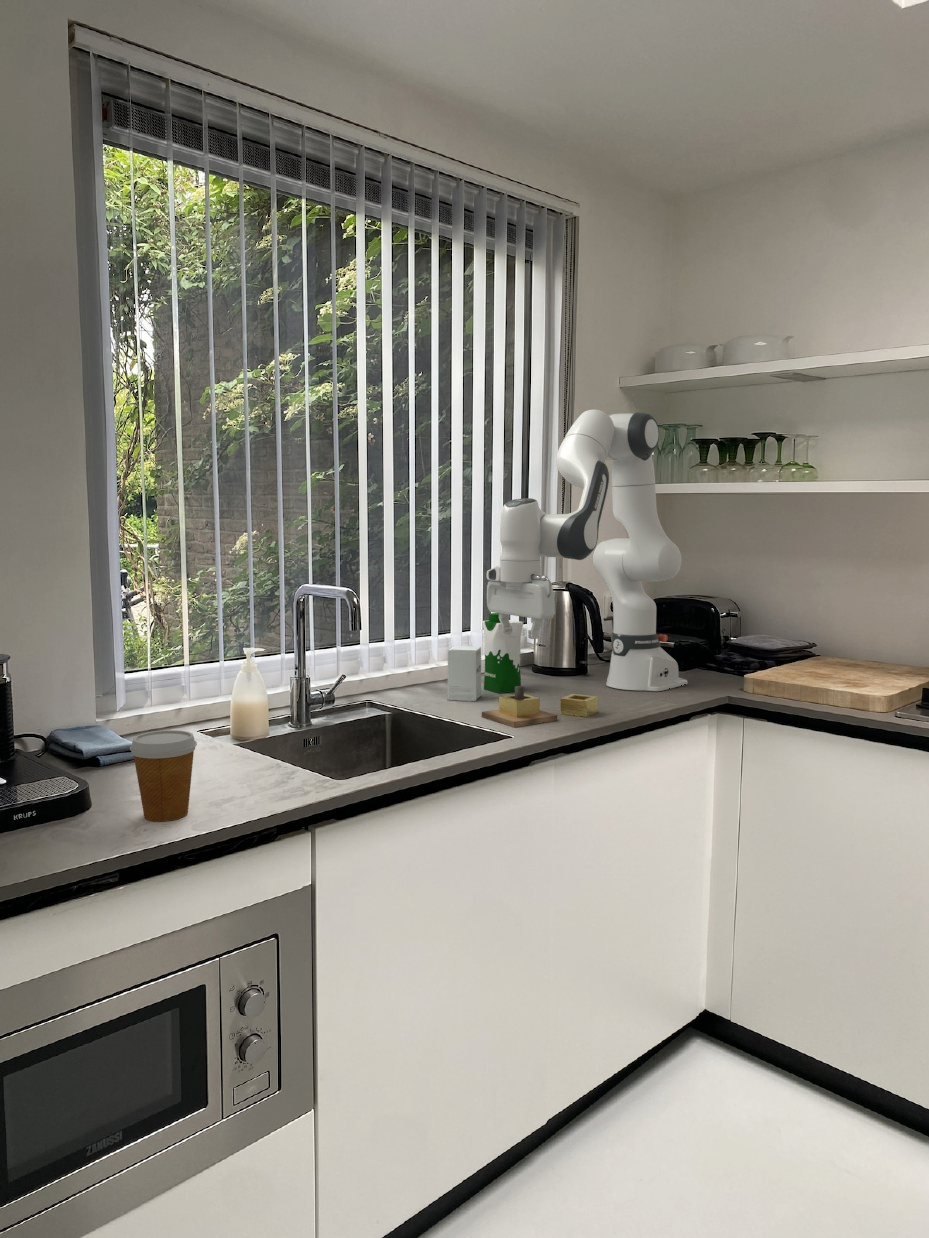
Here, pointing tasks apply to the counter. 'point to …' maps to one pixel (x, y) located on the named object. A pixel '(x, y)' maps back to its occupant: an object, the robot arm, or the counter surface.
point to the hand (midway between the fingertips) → (520, 636)
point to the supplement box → (464, 673)
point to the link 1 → (519, 706)
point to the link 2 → (579, 705)
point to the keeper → (520, 721)
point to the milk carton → (501, 655)
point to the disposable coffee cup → (164, 772)
